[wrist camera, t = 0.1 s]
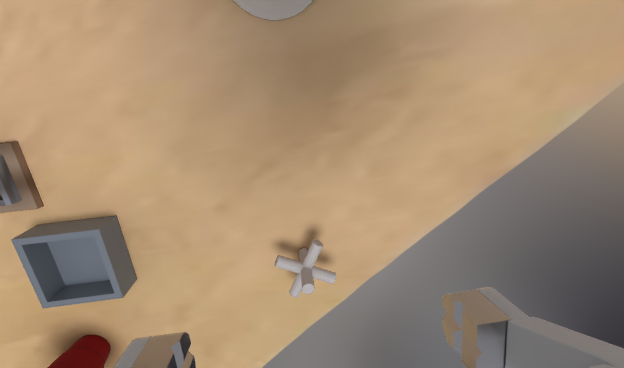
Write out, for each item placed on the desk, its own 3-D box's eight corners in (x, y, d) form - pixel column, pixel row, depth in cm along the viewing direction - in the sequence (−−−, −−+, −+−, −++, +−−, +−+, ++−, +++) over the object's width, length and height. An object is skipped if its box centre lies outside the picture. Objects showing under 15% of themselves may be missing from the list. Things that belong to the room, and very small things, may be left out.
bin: (37, 224, 47) (11, 239, 42) (116, 215, 47) (99, 229, 43) (64, 288, 50) (42, 308, 46) (137, 279, 51) (123, 297, 47)
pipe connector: (318, 282, 55) (325, 323, 46) (267, 267, 53) (264, 307, 44) (340, 237, 53) (353, 270, 43) (287, 219, 50) (289, 250, 41)
